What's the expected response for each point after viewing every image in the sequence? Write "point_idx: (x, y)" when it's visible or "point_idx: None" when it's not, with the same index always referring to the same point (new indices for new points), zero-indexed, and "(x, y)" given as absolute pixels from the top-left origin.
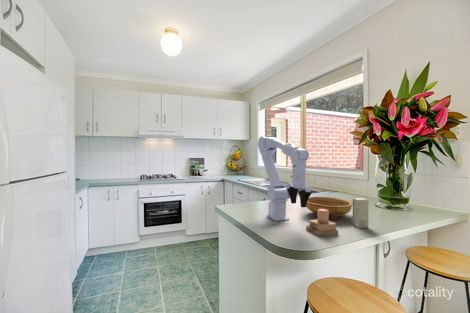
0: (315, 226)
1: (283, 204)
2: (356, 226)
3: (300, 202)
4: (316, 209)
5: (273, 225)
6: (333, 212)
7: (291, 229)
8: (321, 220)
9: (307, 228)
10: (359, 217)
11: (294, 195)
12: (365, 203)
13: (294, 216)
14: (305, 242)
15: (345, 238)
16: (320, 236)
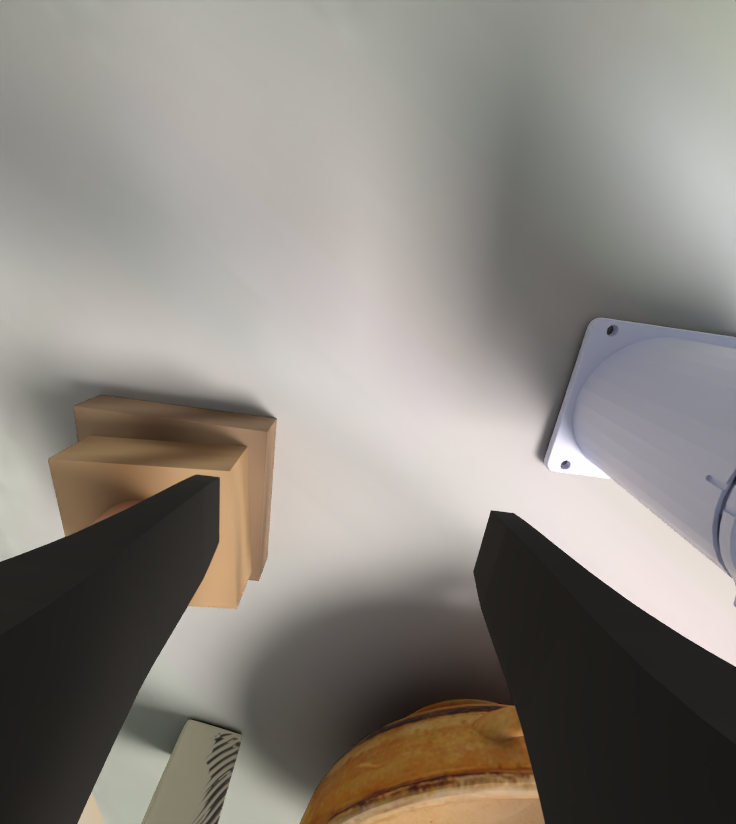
0: (157, 449)
1: (689, 489)
2: (199, 725)
3: (175, 509)
4: (447, 730)
5: (502, 209)
6: (331, 773)
7: (329, 305)
8: (97, 521)
9: (253, 421)
10: (148, 808)
11: (545, 694)
12: None
13: (585, 563)
14: (17, 191)
15: (45, 529)
16: (96, 399)
